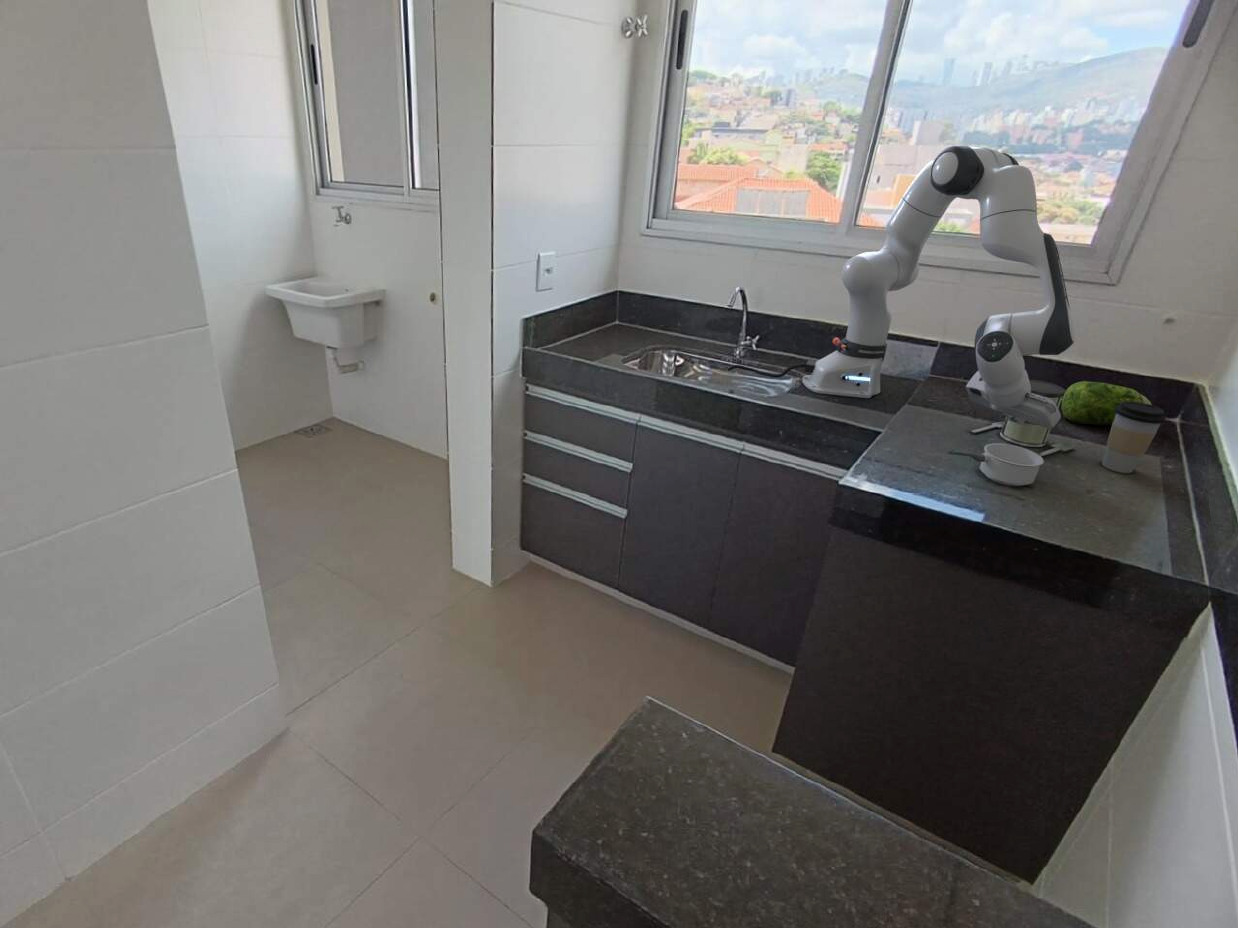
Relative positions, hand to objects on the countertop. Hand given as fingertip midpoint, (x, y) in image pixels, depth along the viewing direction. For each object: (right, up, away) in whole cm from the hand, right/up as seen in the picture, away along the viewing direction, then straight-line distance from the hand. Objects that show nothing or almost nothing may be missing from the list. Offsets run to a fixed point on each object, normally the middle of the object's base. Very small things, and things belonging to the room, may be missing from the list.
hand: (1017, 421), depth 160 cm
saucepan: (-16, -13, -15) cm, 26 cm away
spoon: (+7, -8, -1) cm, 11 cm away
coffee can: (+4, -4, +5) cm, 8 cm away
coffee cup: (+18, -11, -7) cm, 23 cm away
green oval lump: (+34, 0, +18) cm, 38 cm away
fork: (-1, -1, +11) cm, 11 cm away
